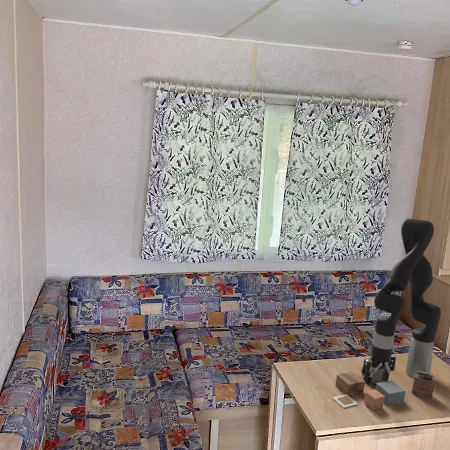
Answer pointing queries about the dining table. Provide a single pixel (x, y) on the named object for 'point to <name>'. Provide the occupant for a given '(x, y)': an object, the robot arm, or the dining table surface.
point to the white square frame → (345, 401)
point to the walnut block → (350, 383)
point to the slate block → (391, 392)
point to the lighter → (423, 384)
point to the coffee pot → (376, 376)
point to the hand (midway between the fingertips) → (376, 382)
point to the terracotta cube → (374, 399)
